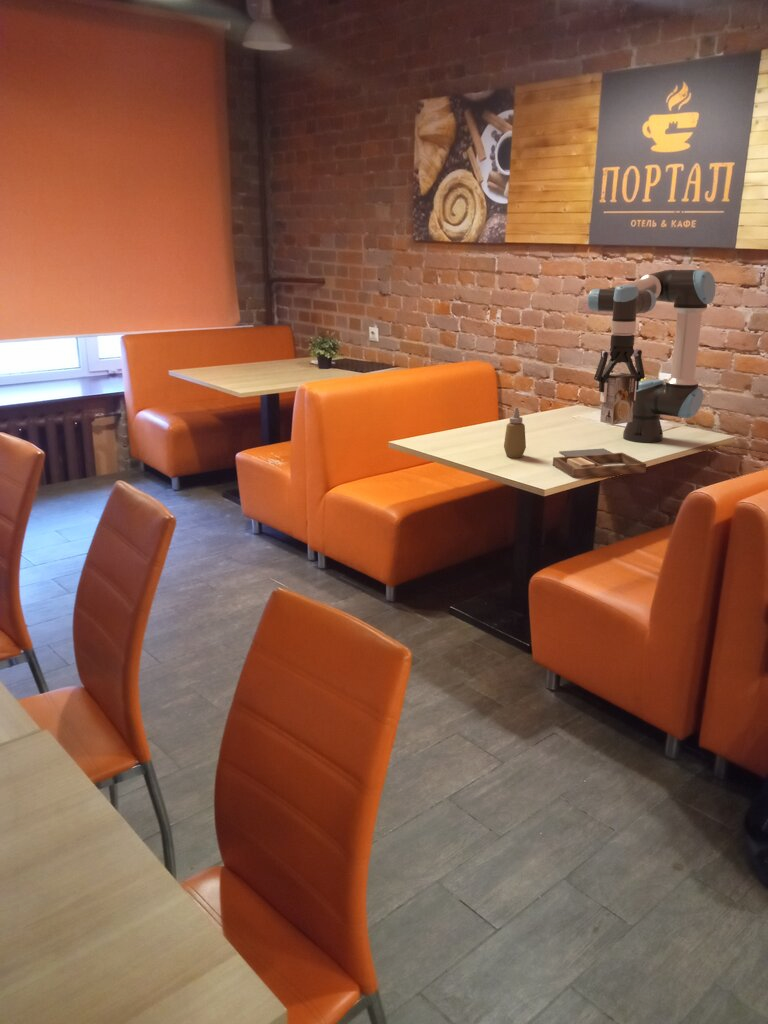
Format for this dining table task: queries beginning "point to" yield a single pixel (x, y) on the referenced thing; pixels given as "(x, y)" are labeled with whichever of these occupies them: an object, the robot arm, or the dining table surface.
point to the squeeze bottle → (515, 436)
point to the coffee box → (618, 399)
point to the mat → (584, 452)
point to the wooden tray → (600, 470)
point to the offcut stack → (580, 463)
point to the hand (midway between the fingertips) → (617, 400)
